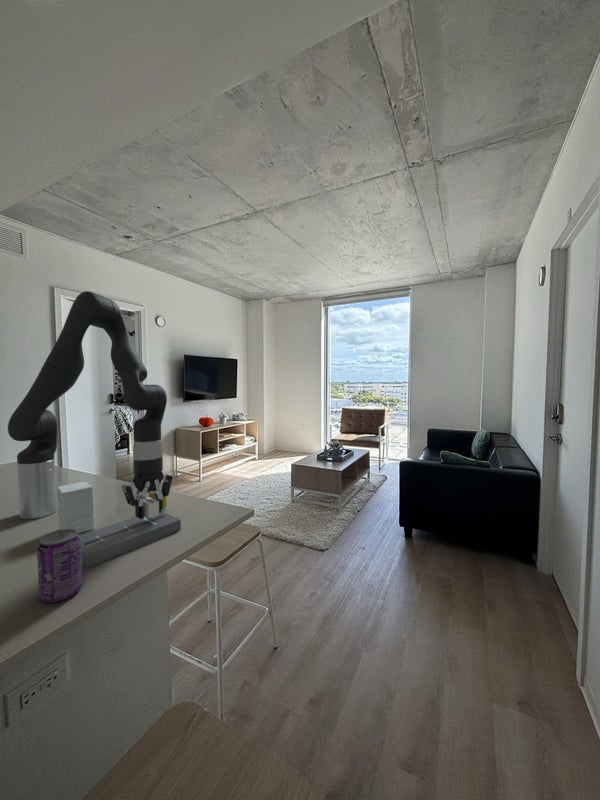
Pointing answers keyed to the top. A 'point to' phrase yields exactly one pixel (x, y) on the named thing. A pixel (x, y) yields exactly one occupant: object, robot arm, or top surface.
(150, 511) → the fader knob
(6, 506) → the top surface
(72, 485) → the supplement box
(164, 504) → the supplement bottle
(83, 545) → the console
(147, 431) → the robot arm
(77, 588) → the beverage can
